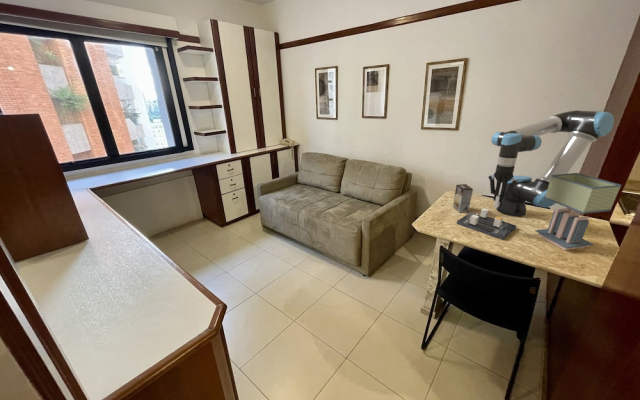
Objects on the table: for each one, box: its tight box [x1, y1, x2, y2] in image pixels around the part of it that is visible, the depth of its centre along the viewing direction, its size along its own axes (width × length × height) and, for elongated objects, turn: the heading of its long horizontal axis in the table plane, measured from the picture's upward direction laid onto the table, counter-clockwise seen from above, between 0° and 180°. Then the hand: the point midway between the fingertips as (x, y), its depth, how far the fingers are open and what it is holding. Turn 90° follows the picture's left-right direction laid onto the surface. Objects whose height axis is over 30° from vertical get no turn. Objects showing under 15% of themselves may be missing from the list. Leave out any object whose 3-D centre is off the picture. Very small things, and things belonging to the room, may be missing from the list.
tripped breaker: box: [493, 216, 504, 227], centre depth 140 cm, size 3×3×5 cm
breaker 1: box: [470, 215, 479, 225], centre depth 144 cm, size 3×3×4 cm
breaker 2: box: [479, 208, 490, 218], centre depth 151 cm, size 3×3×4 cm
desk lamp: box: [534, 172, 622, 251], centre depth 123 cm, size 18×14×33 cm
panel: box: [456, 211, 517, 241], centre depth 146 cm, size 18×24×2 cm
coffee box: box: [452, 183, 474, 213], centre depth 164 cm, size 9×6×16 cm
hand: (496, 206), depth 139 cm, fingers closed
